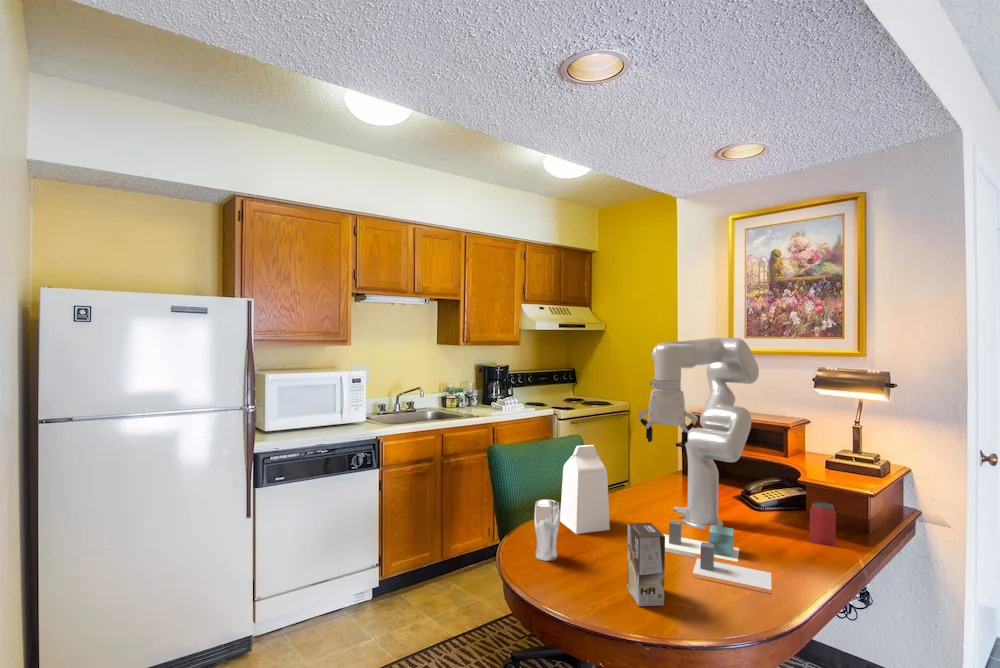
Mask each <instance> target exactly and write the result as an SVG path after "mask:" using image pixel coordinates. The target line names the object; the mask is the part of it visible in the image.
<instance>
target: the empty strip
mask: <svg viewBox="0 0 1000 668" xmlns="http://www.w3.org/2000/svg"><path fill="white" fill-rule="evenodd" d="M705 542H706V541H703V542H702V543H701V555H700V558H699V557H697V558H696V561H695V563H694V566H693V567H694V568H693V570H692V574H694V575H699V576H704V577H709V578H714V579H719V580H723V581H728V582H732V583H737V584H742V585H747V586H750V587H751V586H752V587H757V588H760V589H766V590H769V591H772V588H773V587H772V583H773V582H772V572H768V571H763V570H758V569H755V568H754V569H753V568H750V567H745V566H740V565H739V566H738V565H734V564H729V563H723V562H718V561H715V557H714V544H711V543H709V542H708V543H705ZM692 579H696V580H702V581H706V582H711V583H714V584H715V583H717V584H720V585H724V586H725V585H726V586H730V587H733V588H739V589H743V590H748V591H752V592H758V593H762V594H765V595H772V593H771V592H765V591H761V590H756V589H751V588H747V587H743V586H739V585H733V584H728V583H724V582H720V581H715V580H710V579H705V578H700V577H698V576H697V577H696V576H692Z"/></svg>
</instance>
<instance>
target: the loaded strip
mask: <svg viewBox="0 0 1000 668" xmlns="http://www.w3.org/2000/svg"><path fill="white" fill-rule="evenodd" d="M668 526H669V527H668V534H664V533H662V534H663V535H664V536H665V553H671V554H675V555H680V556H686V557H691V558H696V557H697V555H699V556H701V543H702V542H705V543H709V541H708V542H707V541H703V540H699V539H698V540H696V539H692V538H691V539H690V538H687V537H682V520H681V521H679V520H674V519H670V520H669V523H668ZM739 553H740V548H739V547H735V546H733V555H732V558H731V557H726V556H721V555H715V554H714V559H715V558H716V559H719V560H721V559H722V560H727V561H731V562H736V563H737V562H739V556H740V555H739Z"/></svg>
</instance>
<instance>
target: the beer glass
mask: <svg viewBox="0 0 1000 668" xmlns="http://www.w3.org/2000/svg"><path fill="white" fill-rule="evenodd" d="M534 505H535V506H534V517H533V518H534V528H535V535H536V542H537V543H536V550H535V558H536V559H538V560H540V561H543V562H552V561H555V560H556V559H557V558H558V553H557V537H558V532H559V527H560V503H559V502H558V501H557V500H554V499H547V498H546V499H545V498H543V499H538V500H536V501H535V504H534Z"/></svg>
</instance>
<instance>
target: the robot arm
mask: <svg viewBox="0 0 1000 668" xmlns="http://www.w3.org/2000/svg"><path fill="white" fill-rule="evenodd" d="M651 357H652V361H653V363H654V379H653V380H649V382H648V383H649V386H652V387H653V389H651V391H650V394H649V395H650V397H649V403H648V408H646V409H643V410H641V411H639V412H637V413H636V414H637V417H638V419H639V421H640V423H641V424H642V425H643V426H644V428H645V429H646V430H645V431H646V432H645V434H646V435H645V436H646V437H645V438H646V439H647V442H648V443H650V442H652V441H653V427H652V426H653V424H654V425H655V424H656V425H665V426H677V427H678V426H679V427H680V428H681V429H682V432H681V446H682V447H685V450H686V456H687V505H686V506H683V507H681V506H675V505H674V506H673V512H674V513H675V514H677V515H682V517H681V518H682V520H681V522H683V523H684V524H685V525H686V526H688V527H691V528H695V529H699V530H705V528H706V526H710V527H711V525H714V526H720V527H724V522H723V521H722V520H721V519H720V518H719V478H720V477H719V476H720V473H719V469H718V467H717V464H716V463H715V461H721V462H725V463H735V462H738V460H739V459H740V458H741V455H742V453H743V451H744V449H745V445H746V442H747V440H748V437H749V434H750V432H751V428H752V416H751V413H750V411H749V410H748V409H747V408H746V407H743V406H738V405H736V406H735V403H736V397H735V394H734V392H733V391H732V389H731V388H730V387H729V386H728V385H727V383H732V384H744V385H745V384H746V385H748V384H750V385H751V384H754V383H755V382H757V380H758V379H759V374H760V371H759V370H760V369H759V365H758V362H757V360H756V358H755V356H754V354H753V352H752V350H751V348H750V347H749V345H748V343H746V341H745V340H743V339H741V338H737V337H733V338H732V337H710V338H702V339H692V340H691V339H690V340H683V341H681V340H680V341H668V342H660V343H657V345H655V346H654V348H653V350H652V354H651ZM705 365H706V378H707V382H708V388H709V394H708V397H707V400H706V402H705V404H704V407H703V409H702V411H701V414H700V417H698V416H696V415H694V414H692V413H691V412H689V411H687V410H686V402H685V401H686V400H685V396H684V395H685V394H684V391H683V390H682V369H687V370H688V369H694V368H695V367H697V366H705ZM646 414H647V415H648V421H647V419H645V415H646ZM686 417H687V418H688V419H690V420H691V422H690V423H689V424H686V423H685V422H686ZM698 419H699V424H700V426H701V427H694V426H695V425H696V423H697V422H698ZM714 460H715V461H714Z"/></svg>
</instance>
